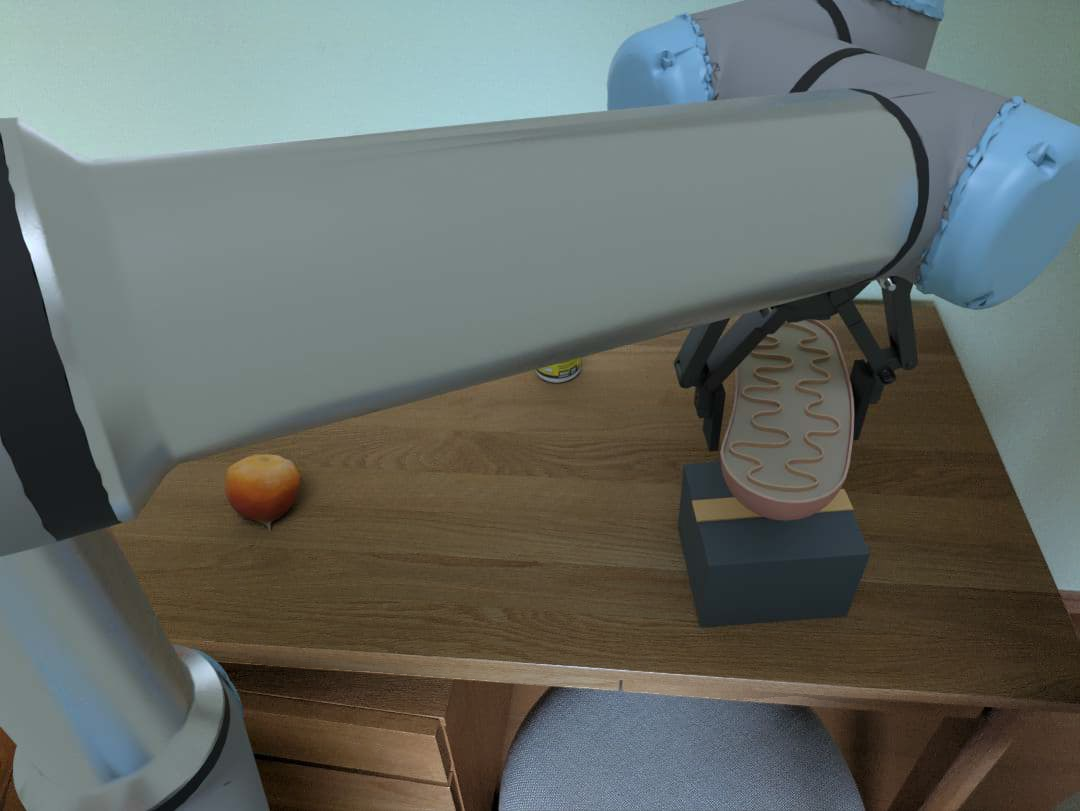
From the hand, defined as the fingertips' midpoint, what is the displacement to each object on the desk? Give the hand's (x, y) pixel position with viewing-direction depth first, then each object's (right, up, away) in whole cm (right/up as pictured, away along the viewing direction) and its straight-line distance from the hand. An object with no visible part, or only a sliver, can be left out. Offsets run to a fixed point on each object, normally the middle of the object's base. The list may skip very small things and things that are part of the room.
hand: (779, 434), depth 66 cm
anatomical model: (0, 0, 0) cm, 0 cm away
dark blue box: (+2, -14, +13) cm, 19 cm away
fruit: (-51, -9, +23) cm, 56 cm away
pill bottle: (-18, +7, +37) cm, 42 cm away
